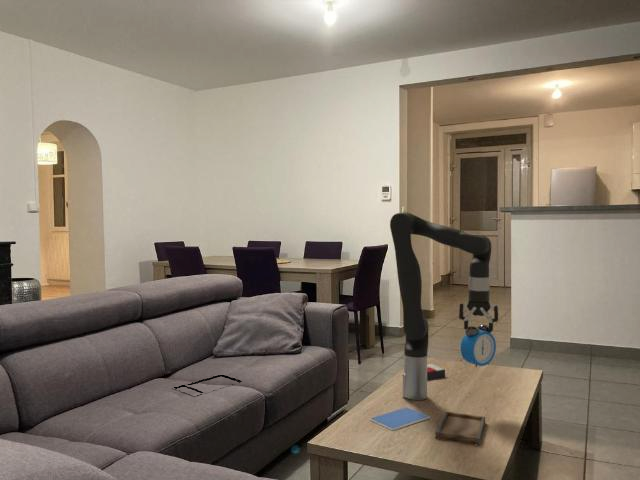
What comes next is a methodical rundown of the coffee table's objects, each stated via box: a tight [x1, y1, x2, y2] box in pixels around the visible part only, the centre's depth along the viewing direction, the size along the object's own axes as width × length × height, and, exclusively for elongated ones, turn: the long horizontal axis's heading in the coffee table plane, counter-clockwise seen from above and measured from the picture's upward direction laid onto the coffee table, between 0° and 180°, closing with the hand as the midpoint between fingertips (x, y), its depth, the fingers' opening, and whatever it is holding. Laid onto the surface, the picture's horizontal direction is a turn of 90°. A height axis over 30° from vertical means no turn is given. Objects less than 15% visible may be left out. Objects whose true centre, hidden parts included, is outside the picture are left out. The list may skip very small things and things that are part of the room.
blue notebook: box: [369, 407, 431, 432], centre depth 193 cm, size 19×13×1 cm, turn 126°
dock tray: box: [434, 410, 486, 446], centre depth 183 cm, size 14×20×2 cm
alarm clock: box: [460, 324, 497, 368], centre depth 202 cm, size 13×6×15 cm, turn 121°
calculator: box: [427, 363, 446, 381], centre depth 246 cm, size 11×4×15 cm
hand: (478, 331), depth 202 cm, fingers closed on alarm clock, 8 cm apart
